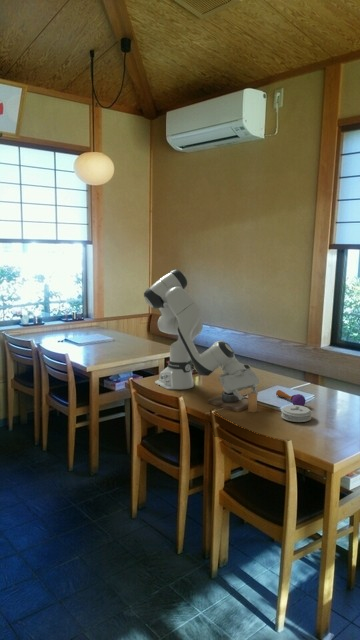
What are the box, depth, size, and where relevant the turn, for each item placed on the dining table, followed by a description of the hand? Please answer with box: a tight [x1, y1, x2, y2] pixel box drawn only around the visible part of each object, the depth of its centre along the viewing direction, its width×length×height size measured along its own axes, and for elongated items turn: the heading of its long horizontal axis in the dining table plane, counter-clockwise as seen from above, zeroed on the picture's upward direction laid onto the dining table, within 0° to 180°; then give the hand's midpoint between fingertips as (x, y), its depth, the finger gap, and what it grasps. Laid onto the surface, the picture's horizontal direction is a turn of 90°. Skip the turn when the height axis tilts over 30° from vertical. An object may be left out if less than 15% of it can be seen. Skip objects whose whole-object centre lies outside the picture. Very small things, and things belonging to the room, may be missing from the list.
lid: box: [280, 404, 312, 423], centre depth 199 cm, size 13×13×5 cm
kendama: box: [275, 389, 306, 407], centre depth 221 cm, size 6×6×20 cm
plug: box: [247, 392, 258, 414], centre depth 209 cm, size 4×4×8 cm
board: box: [207, 395, 248, 413], centre depth 219 cm, size 18×14×2 cm
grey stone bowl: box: [221, 391, 239, 403], centre depth 219 cm, size 8×8×4 cm
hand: (249, 396), depth 209 cm, fingers open, 8 cm apart
